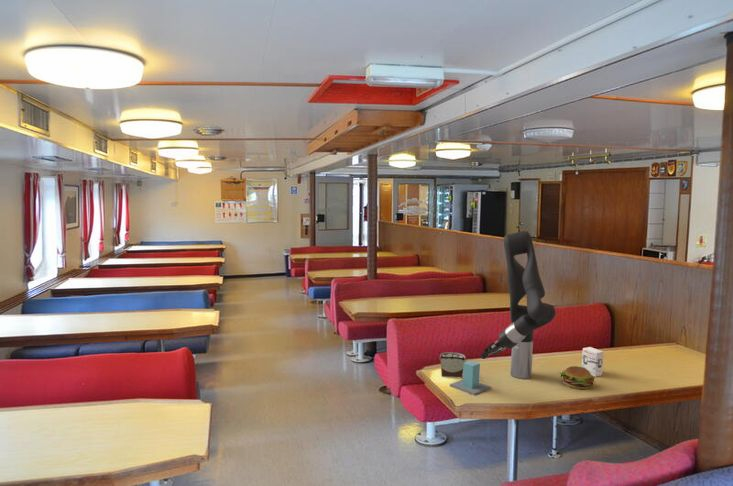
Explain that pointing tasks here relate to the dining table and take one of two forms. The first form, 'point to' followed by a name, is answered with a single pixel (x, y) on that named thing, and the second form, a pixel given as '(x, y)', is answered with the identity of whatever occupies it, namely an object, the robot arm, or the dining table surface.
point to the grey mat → (472, 391)
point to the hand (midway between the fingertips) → (487, 355)
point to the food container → (452, 364)
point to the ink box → (592, 360)
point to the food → (577, 377)
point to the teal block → (471, 374)
